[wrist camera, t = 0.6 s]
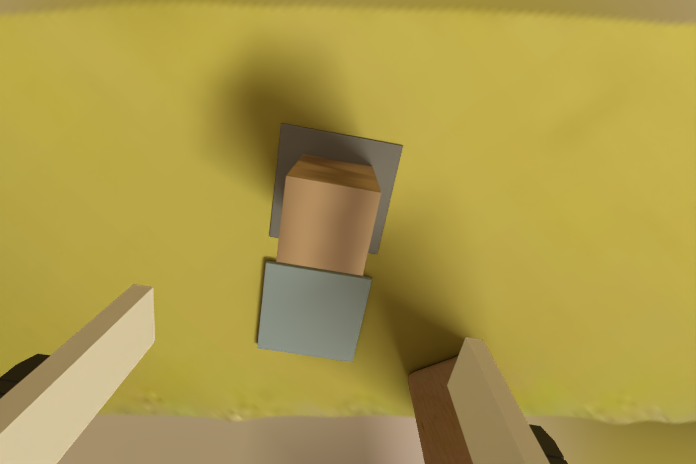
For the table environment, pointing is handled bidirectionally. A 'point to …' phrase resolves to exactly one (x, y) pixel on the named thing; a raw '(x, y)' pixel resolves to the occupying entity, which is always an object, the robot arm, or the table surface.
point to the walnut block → (328, 214)
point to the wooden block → (437, 415)
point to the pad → (312, 311)
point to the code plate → (337, 148)
